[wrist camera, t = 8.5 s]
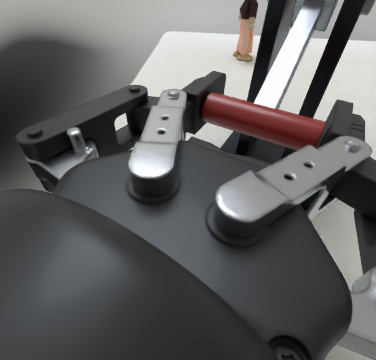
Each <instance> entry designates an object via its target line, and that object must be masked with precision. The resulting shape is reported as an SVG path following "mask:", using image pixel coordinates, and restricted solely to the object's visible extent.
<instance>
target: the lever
mask: <svg viewBox="0 0 376 360" xmlns="http://www.w3.org/2000/svg"><path fill="white" fill-rule="evenodd" d="M337 3H338V0H295V4H294V9H293V13H292V18H291V22H290V27H291V30H290V31H289V33H288V35H287V37H286V39H285V41H284V43H283V45H282V47H281V49H280V51H279V53H278V55H277V57H276V59H275V61H274V63H273V65H272V67H271V69H270V71H269V73H268V75H267V77H266V79H265V81H264V83H263V85H262V87H261V89H260V91H259V93H258V95H257V97H256V99H255V101H254V103H252V102H248V101H245V100H241V99H237V98H233V97H229V96H225V95H222V94H218V93H214V92H211V93H210V94H209V95H208V96H207V98H206V100H205V102H204V105H203V109H202V119H203V121H204V122H207V123H210V124H214V125H217V126H220V127H223V128H226V129H230V130H233V131H236V132H239V133H242V134H246V135H249V136H252V137H255V138H258V139H262V140H265V141H268V142H271V143H274V144H278V145H281V146H284V147H287V148H290V149H294V150H297V151H298V150H300V149H301V148H303V147H305V146H307V145H311V146H313V147H315V148H316V146H317V144H318V142H319V140H320V137H321V135H322V133H323V130H324V127H325V124H326V122H324V121H321V120H317V119H313V118H309V117H305V116H302V115H298V114H294V113H290V112H286V111H283V110H279V109H278V108H279V106H280V104H281V102H282V100H283V97H284V95H285V93H286V91H287V89H288V87H289V84H290V82H291V80H292V78H293V76H294V73H295V71H296V69H297V67H298V65H299V62H300V60H301V58H302V56H303V54H304V52H305V49H306V47H307V45H308V43H309V41H310V38H311V36H312V34H313V32H314V30H317V31H325V30H326V28H327V26H328V23H329V21H330V19H331V16H332V14H333V12H334V10H335V7H336V5H337Z"/></svg>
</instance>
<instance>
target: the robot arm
mask: <svg viewBox="0 0 376 360" xmlns="http://www.w3.org/2000/svg"><path fill="white" fill-rule="evenodd" d="M225 81H226V74H225V73H220V72H216V71H212V72H211V73H209V74H208V75H207V76H205V77H202V78H199V79H196V80H194V81H193V82H192V83H190V84H189V85H187V86H186V87H185V88H183V89H182V90H178V89H169V90H165V91H163V92H162V93H161V95H160V97H152V96H148V91H147V88H146V87H144V86H141V85H130V86H127V87H124V88H122V89H119V90H117V91H114V92H112V93H110V94H107V95H105V96H103V97H100V98H98V99H95V100H93V101H90V102H88V103H86V104H83V105H81V106H78V107H76V108H73V109H71V110H69V111H66V112H64V113H61V114H59V115H57V116H54V117H52V118H49V119H47V120H45V121H42V122H40V123H38V124H35V125H33V126H30V127H28V128H25V129H24V130H22V131H20V132H19V133H18V134H17V136H16V140H17V142H18V144H19V145H20V147H21V149H22V150H23V152H24V154H25V157H26V159H27V161H28V163H29V164H30V166H31V168H32V170H33V171H34V173H35V175H36V176H37V177H38V178H39V179H40V181H41V183H42V185H43V187H44V188H45V190H47V191H49V192H52V193H48V192H44V191H39V190H32V189H13V190H5V191H1V192H0V360H324V359H325V357H326V356H327V354H328V353H329V351H330V350H331V349H332V348H333V347H334V346H335V345H336V344H337V345H339V346H342V347H344V348H346V349H349V350H351V351H354V352H356V353H359V354H361V355H364V356H366V357H368V358H371V359H373V360H376V161H375V160H374V159H372V158H371V157H370V155H371V153H372V148H371V147H370V146H369V145H368V144H367V143H366V142H365V121H364V119H363V118H362V117H361V116H360V115H356V114H352V111H353V103H350V102H346V101H342V100H337V101H336V102H335V104H334V106H333V108H332V110H331V112H330V114H329V116H328V118H327V120H326V124H325V127H324V130H323V133H322V135H321V137H320V140H319V142H318V144H317V146H316V148H315V147H313V146H311V145H307V146H305V147H303V148H301V149H300V150H298V151H296V152H294V153H292V154H290V155H288V156H286V157H285V158H283V159H281V160H279V161H277V162H275V163H273V164H270V163H267V162H264V161H262V160H259V159H256V158H253V157H248V156H242V155H237V154H231V153H227V152H225V151H224V150H222V149H220V148H218V147H217V146H215V145H213V144H211V143H209V142H206V141H203V140H200V139H197V138H194V137H191V138H190V139H189V140H188V141H185V139H186V133H187V132H188V133H191V134H194V135H195V134H196V133H197V132H198V131H199V130H200V129H201V128H202V127H203V126H204V125H205V124H206V122H204V121H203V119H202V109H203V105H204V102H205V100H206V98H207V96H208V95H209V94H210V93H211V92H214V93H218V94H222V95H224V88H225ZM124 113H126V116H127V122H128V125H126V126H124V127H122V128H121V129H119V130H117V131H115V126H114V122H115V119H116V118H117V117H118V116H120V115H122V114H124ZM133 147H134V148H133ZM131 148H133V150H130V149H131ZM337 199H339V200H340V201H342V202H344V203H345V204H347V205H349V206H350V207H352V208H354V209H355V211H354V218H355V225H356V231H357V238H358V244H359V251H360V257H361V264H362V270H363V276H361V277H360V278H359V279H357V280H356V281H355V282H354V284H353V286H352V292H351V291H350V290H349V287H348V285H347V283H346V281H345V279H344V277H343V275H342V273H341V272H340V270H339V268H338V267H337V265H336V263H335V262H334V260H333V258H332V256H331V255H330V253H329V251H328V250H327V248H326V246H325V245H324V243H323V241H322V239H321V238H320V236H319V234H318V233H317V231H316V229H315V228H314V226H313V224H312V222H311V220H312V219H313V218H314V217H316V216H317V215H318V214H319V213H321V212H322V211H323V210H325V209H326V208H327V207H328V206H330V205H331V204H332V203H334V202H335V201H336V200H337Z"/></svg>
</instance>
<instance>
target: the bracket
mask: <svg viewBox="0 0 376 360" xmlns="http://www.w3.org/2000/svg"><path fill="white" fill-rule="evenodd" d="M267 2H268V6H267V11H266V15H265V20H264V25H263V29H262V34H261V38H260V43H259V47H258V52H257V57H256V61H255V66H254V70H253V75H252V80H251V84H250V89H249V93H248V98H247V101H248V102H252V103H254V101H255V99H256V97H257V95H258V93H259V91H260V89H261V87H262V85H263V83H264V81H265V79H266V77H267V75H268V73H269V71H270V69H271V67H272V65H273V63H274V61H275V59H276V57H277V55H278V53H279V51H280V49H281V47H282V45H283V43H284V41H285V39H286V37H287V35H288V31H289V28H290V22H291V18H292V13H293V9H294V4H295V0H267ZM374 3H375V0H344V2H343V5H342V7H341V10H340V12H339V15H338V17H337V20H336V22H335V25H334V27H333V30H332V32H331V35H330V37H329V40H328V42H327V45H326V47H325V50H324V52H323V55H322V57H321V60H320V62H319V65H318V67H317V70H316V72H315V75H314V77H313V80H312V82H311V85H310V87H309V90H308V92H307V95H306V97H305V100H304V102H303V105H302V107H301V110H300V112H299V115H302V116H305V117H309V118H313V117H314V115H315V112H316V110H317V108H318V106H319V104H320V101H321V99H322V97H323V95H324V93H325V90H326V88H327V86H328V84H329V82H330V79H331V77H332V75H333V73H334V70H335V68H336V66H337V64H338V62H339V59H340V57H341V55H342V53H343V51H344V48H345V46H346V44H347V42H348V40H349V37H350V35H351V32H352V31H353V28H354V26H355V24H356V22H357V20H358V17H359V15H368V14H369V12H370V11H371V9H372V7H373V5H374ZM220 149H222V150H224V151H225V152H227V153H231V154H237V155H242V156H248V157H253V158H256V159H259V160H262V161H264V162H267V163H270V164H273V163H275V162H277V161H279V160H281V159H283V158H285V157H286V156H288V155H290V154H292V153H294V152H296V151H297V150H294V149H290V148H287V147H284V146H281V145H278V144H274V143H271V142H268V141H265V140H262V139H258V138H255V137H252V136H249V135H246V134H242V133H239V132H236V131H233V133H232V134H231V135H230V136H229V138H228V139H227V140H226V142H225V143H224V144H223V145H222V147H221V148H220Z"/></svg>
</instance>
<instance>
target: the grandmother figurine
mask: <svg viewBox="0 0 376 360" xmlns="http://www.w3.org/2000/svg"><path fill="white" fill-rule="evenodd" d="M257 8H258V3H257V1H256V0H245V1H244V3H243V5H242V6H241V8H240V15H239V18H238V19H239V20H240V21H241V26H240V36H239V40H238V44H237V49H236V50H237V51H236V52H234V54H233V55H234V56H237V59H238V60H244V61H250V60H251V56H250V55H249V54H248V53H251V52H252V44H253V30H254V23H255V19H256V13H257Z"/></svg>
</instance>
